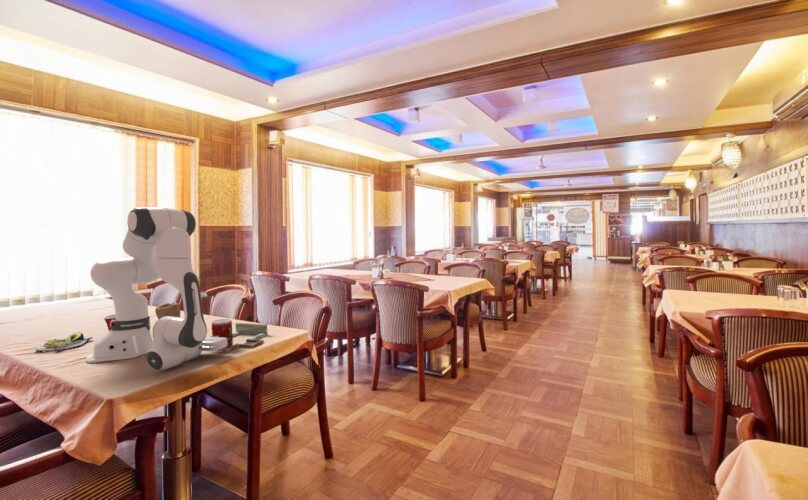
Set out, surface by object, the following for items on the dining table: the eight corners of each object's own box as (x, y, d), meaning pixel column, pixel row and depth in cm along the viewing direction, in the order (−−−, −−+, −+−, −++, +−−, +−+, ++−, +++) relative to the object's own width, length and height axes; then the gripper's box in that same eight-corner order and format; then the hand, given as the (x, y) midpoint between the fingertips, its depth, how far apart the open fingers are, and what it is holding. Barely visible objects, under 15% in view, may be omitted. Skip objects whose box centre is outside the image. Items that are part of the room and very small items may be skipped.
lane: (239, 354, 157) (238, 341, 157) (181, 350, 164) (180, 338, 164) (278, 335, 184) (278, 324, 183) (227, 332, 191) (227, 322, 191)
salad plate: (80, 350, 169) (80, 339, 168) (26, 356, 162) (25, 345, 161) (95, 339, 186) (95, 329, 186) (47, 344, 179) (46, 334, 179)
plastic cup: (114, 337, 188) (112, 312, 187) (138, 336, 189) (136, 311, 188) (98, 343, 177) (96, 317, 177) (124, 342, 178) (122, 316, 177)
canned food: (225, 349, 163) (224, 323, 163) (208, 349, 165) (207, 322, 164) (236, 344, 171) (235, 319, 170) (220, 343, 172) (219, 318, 172)
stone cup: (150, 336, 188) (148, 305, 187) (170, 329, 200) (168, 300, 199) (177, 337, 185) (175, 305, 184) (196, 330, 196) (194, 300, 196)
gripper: (212, 340, 148) (236, 331, 161) (167, 337, 153) (195, 328, 166) (212, 357, 148) (237, 346, 161) (168, 353, 153) (196, 343, 167)
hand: (215, 337), depth 164 cm, fingers closed, pressing on canned food
